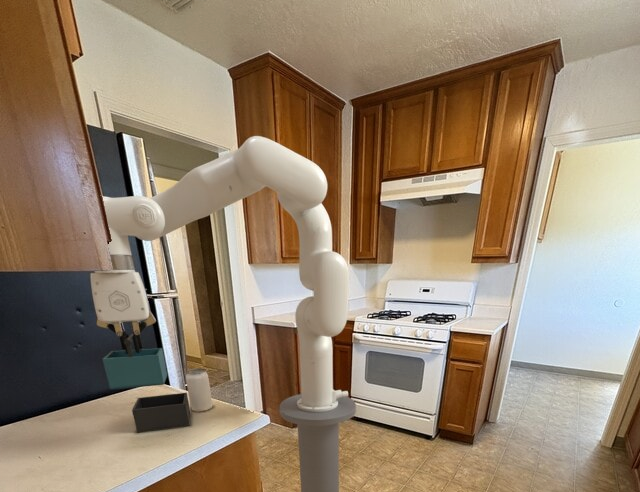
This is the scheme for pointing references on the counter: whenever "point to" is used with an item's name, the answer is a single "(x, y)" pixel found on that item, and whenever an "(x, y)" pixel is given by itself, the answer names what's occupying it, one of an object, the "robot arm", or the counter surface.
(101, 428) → the counter surface
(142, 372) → the top bin
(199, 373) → the can
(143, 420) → the lower bin
